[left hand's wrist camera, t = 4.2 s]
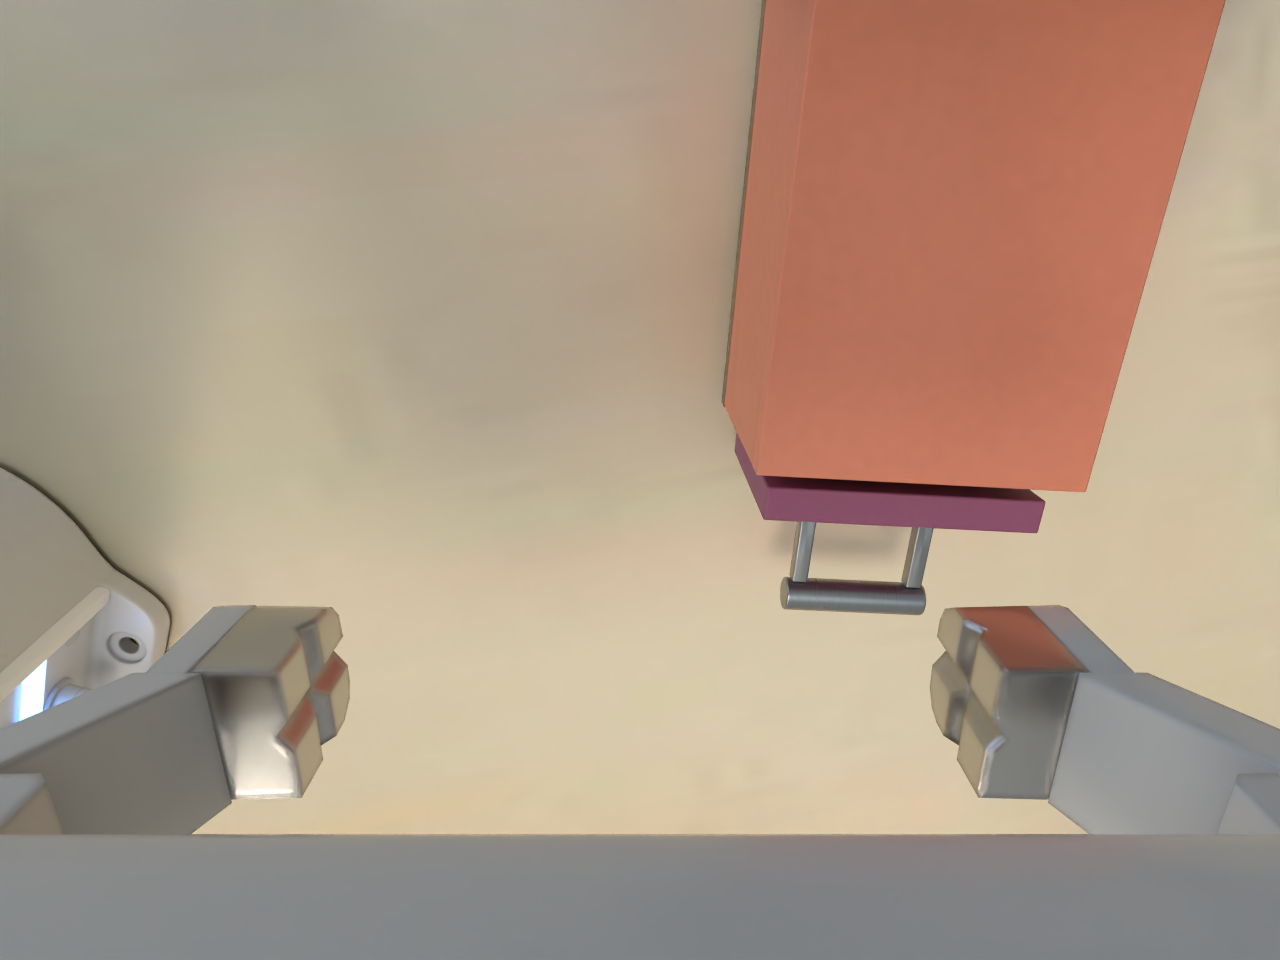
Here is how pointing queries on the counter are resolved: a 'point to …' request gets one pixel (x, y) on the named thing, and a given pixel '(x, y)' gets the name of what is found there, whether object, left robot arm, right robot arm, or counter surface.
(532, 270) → the counter surface
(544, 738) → the counter surface
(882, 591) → the drawer
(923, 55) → the cabinet
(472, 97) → the counter surface
